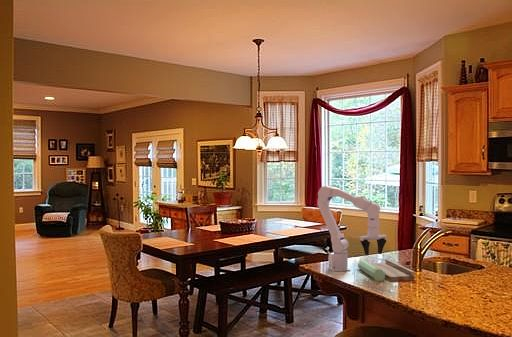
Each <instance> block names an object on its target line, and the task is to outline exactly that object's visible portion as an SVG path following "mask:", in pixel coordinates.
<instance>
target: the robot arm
mask: <svg viewBox="0 0 512 337" xmlns="http://www.w3.org/2000/svg"><path fill="white" fill-rule="evenodd" d="M334 197H335V198H336V197H339V198H341V199H343V200H346V201H349V202H350V203H352V205H353V206H354V207H355V208H358V209H359V210H361V211H364V212H366V213H367V235H361V236H359V241H360V244H361V246H362V248H363V251H364V255H366V256H369V254H370V250H369V249H370V243H371V242H370V241H373V240H374V241H376V244H377V253H378V254H379V255H382V253H383V250H384V248H385V245H386V243H387V240H388V239H387V238H388V235H387V234H380V213H379V212H380V211H381V206H380V204H378V203H377V202H376V201H375V202H373V200H369V199H366V198H364V197H365V196H363V195H358V196H354V195H352V194H350V193H349V192H347V191H345V190H343V189H341V188H338V187H336V186H333V185H323V186H321V187H320V188H319V190H318V192H317V207H318V209H319V212H320V214H321V216H322V218H323V220H324V223H325V225H326V227H327V230H328V232H329V234H330V242H331V247H332V250H333V251H332V252H329V253H328V267H327V268H328V269H329V270H330V271H332V272H349V271H351V269H350V268H349V266H348V265H349V264H348V253H349V252H348V250H347V249H348V248H349V247H350V246H349V245H350V244H349V241H348V239H346V237H345V236H344V234H343V233H342V232H341V230H340V228H339V225H338V224H337V221H336V219H335V217H334V214H333V212H332V210H331V207H330V205H329V204H330V202H331V200H332V199H333V198H334Z"/></svg>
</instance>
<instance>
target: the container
mask: <svg viewBox="0 0 512 337" xmlns="http://www.w3.org/2000/svg"><path fill="white" fill-rule="evenodd" d="M371 264H372V263H369V262H367V261H365V260H360V261H359V262H358V263H357V268H358V269H360V271H362V272H363V273H365V274H367V275H368V276H370V277H371V278H373V279H374V281H376V282H381V281H384V279H385V273H384V272H383V271H382V270H381V269H378V268H376V267H374V266H372V265H371Z"/></svg>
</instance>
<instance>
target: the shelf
mask: <svg viewBox="0 0 512 337" xmlns="http://www.w3.org/2000/svg"><path fill="white" fill-rule="evenodd" d="M370 264H371V265H372V266H374V267H376V268H378V269H381V270H382V271H383V272H384V273H385V278H384V279H385V280H388V281H389V282H398V281H399V282H400V281H401V282H403V281H404V282H405V281H406V282H407V281H415V271H414V270H412V269H410V268H407V267H405V266H404V265H401V264H399V263H397V262H396V261H395V262H394V261H393V260H390V259H388V258H385V261H384V262H377V263H376V262H375V263H370Z"/></svg>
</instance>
